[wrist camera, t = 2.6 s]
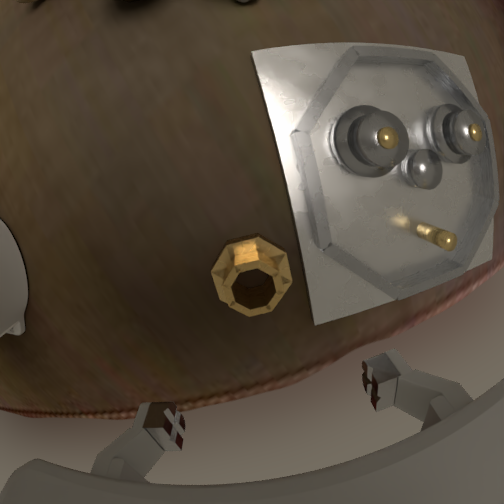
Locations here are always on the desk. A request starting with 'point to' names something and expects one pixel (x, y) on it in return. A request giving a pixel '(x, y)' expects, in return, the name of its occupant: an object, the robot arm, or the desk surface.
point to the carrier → (380, 168)
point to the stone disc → (25, 1)
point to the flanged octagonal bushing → (247, 258)
